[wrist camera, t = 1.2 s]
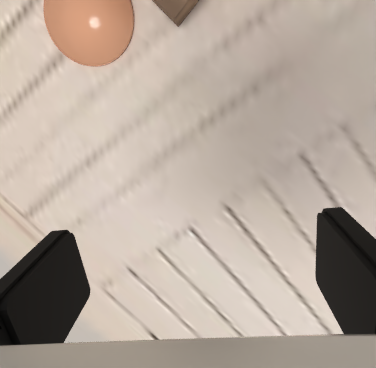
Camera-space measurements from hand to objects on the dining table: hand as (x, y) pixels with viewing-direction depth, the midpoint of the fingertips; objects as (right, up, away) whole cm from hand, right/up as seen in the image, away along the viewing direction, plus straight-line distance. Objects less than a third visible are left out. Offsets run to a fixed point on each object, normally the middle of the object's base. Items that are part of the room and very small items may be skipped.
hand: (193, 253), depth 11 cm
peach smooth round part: (-11, +21, +21) cm, 32 cm away
